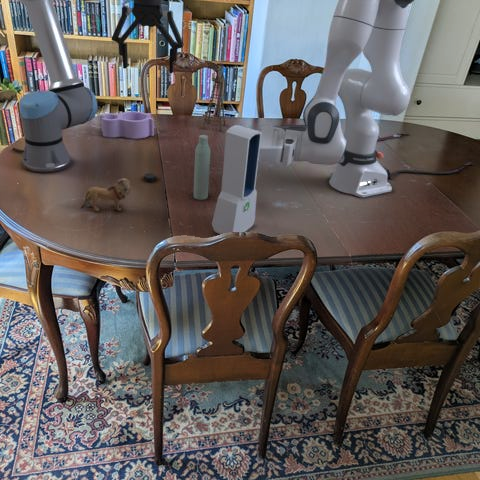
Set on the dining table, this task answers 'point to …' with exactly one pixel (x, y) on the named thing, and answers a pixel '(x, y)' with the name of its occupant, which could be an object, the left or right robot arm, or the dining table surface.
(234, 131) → the electronic device
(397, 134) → the sword
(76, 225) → the dining table surface
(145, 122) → the clip
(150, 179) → the cap
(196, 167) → the bottle
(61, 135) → the left robot arm
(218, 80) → the eiffel tower model
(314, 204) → the dining table surface
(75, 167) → the dining table surface
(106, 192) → the lion figurine
